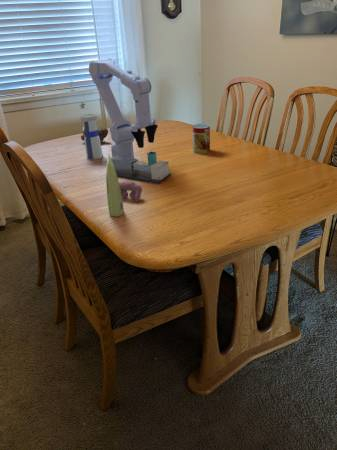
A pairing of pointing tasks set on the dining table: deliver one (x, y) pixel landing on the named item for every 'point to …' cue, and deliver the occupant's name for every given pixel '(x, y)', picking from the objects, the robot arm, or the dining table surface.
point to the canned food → (201, 138)
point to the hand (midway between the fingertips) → (146, 145)
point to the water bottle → (91, 135)
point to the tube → (113, 190)
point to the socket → (160, 170)
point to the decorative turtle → (101, 133)
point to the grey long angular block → (126, 171)
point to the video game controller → (131, 187)
